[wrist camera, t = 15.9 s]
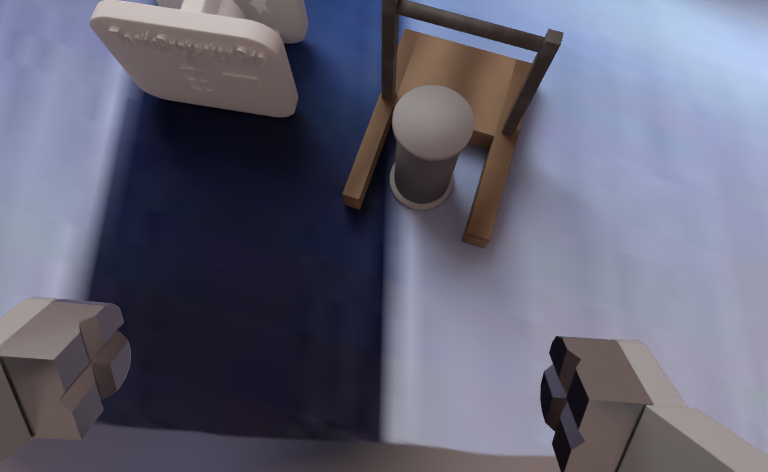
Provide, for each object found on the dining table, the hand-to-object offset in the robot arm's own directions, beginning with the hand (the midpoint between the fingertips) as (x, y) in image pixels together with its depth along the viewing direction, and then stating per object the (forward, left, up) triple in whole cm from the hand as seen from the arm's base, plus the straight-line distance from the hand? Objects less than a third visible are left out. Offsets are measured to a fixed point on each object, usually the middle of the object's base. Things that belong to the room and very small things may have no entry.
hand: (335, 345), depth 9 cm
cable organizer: (-22, +23, -32) cm, 45 cm away
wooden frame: (0, +22, -31) cm, 39 cm away
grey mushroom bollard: (-1, +18, -31) cm, 36 cm away
